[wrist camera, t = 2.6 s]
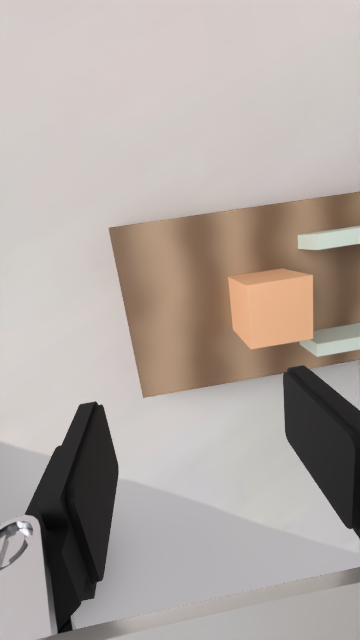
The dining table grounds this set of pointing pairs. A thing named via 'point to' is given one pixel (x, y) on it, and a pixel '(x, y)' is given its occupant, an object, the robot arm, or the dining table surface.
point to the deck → (213, 289)
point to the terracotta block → (272, 307)
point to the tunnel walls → (343, 335)
